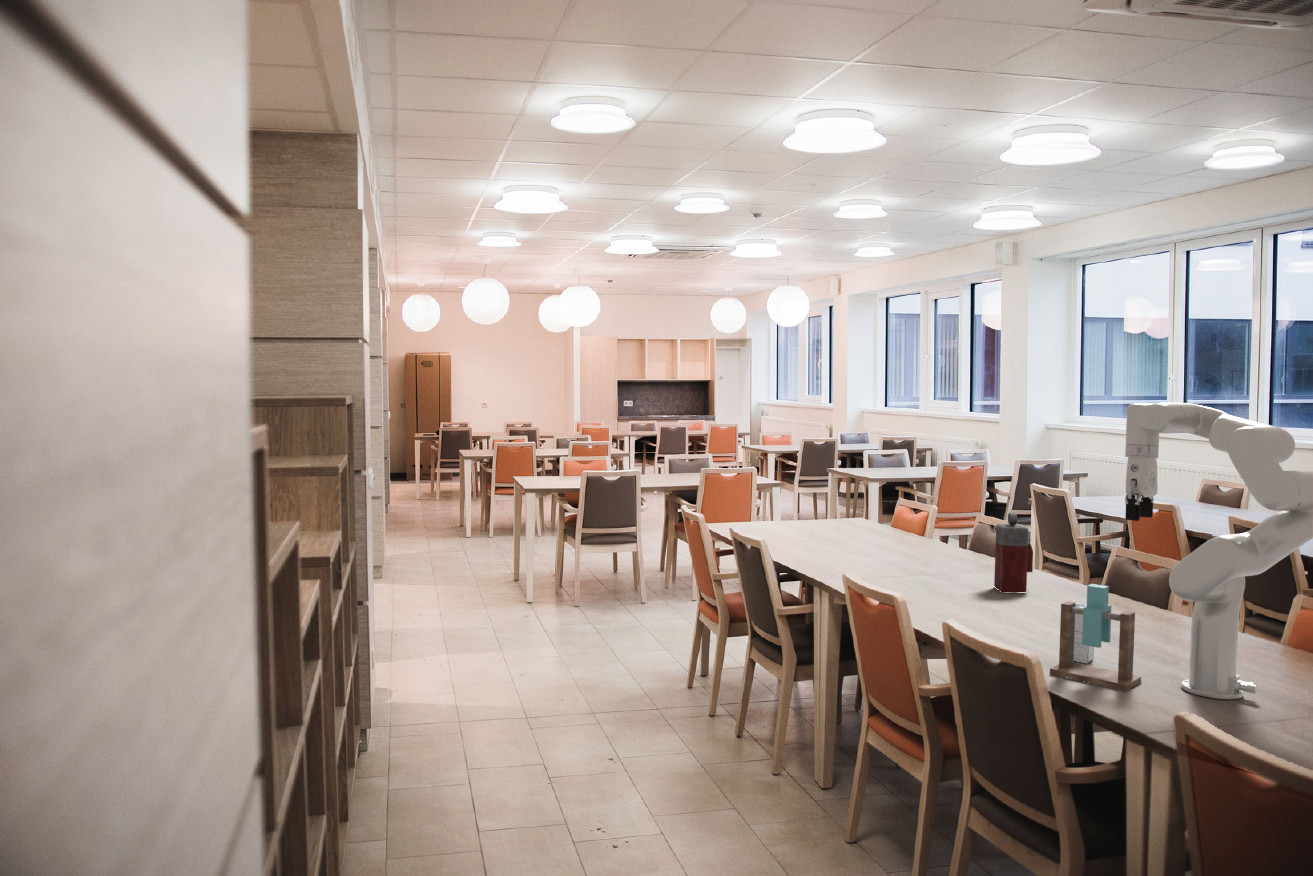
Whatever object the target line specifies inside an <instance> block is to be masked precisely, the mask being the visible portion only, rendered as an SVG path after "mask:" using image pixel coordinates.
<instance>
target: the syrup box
mask: <svg viewBox="0 0 1313 876" xmlns="http://www.w3.org/2000/svg"><path fill="white" fill-rule="evenodd" d="M1075 603H1076V607H1077V608H1083V607H1085V606H1087V603H1081V602H1075ZM1082 636H1083V615H1082V614H1076V613H1075V634H1074V661H1076V662H1075V663H1079V662H1081V663H1080V664H1085V663H1086V664H1085V665H1087V664H1089V663H1090V662H1092V661H1093V660H1094V655H1095V654H1094V653H1095V652H1094V651H1095V647H1092V646H1087V645H1082ZM1074 661H1073V662H1074Z"/></svg>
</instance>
